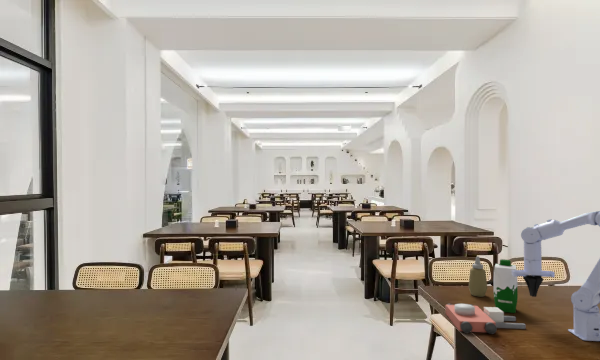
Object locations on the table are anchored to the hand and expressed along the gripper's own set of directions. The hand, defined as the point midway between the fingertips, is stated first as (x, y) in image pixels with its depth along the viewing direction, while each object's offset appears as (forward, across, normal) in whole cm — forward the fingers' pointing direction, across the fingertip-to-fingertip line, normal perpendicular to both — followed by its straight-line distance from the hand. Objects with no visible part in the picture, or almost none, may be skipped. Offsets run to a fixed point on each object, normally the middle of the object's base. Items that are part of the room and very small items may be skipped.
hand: (533, 296), depth 150 cm
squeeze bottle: (+10, +7, -38) cm, 39 cm away
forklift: (+10, +18, +2) cm, 21 cm away
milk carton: (+10, +4, -15) cm, 19 cm away
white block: (+10, +17, +2) cm, 19 cm away
